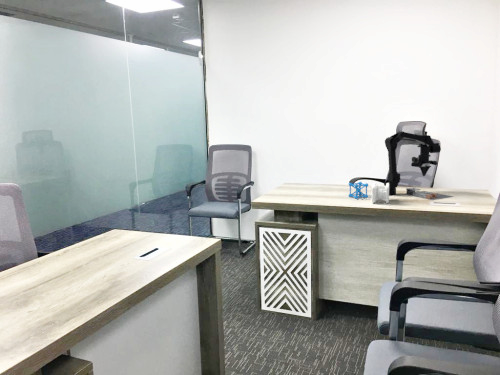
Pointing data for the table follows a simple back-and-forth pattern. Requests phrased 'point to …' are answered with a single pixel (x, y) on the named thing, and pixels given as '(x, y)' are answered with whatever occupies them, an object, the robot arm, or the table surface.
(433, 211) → the table surface
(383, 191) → the cable organizer
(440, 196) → the desk mat
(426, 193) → the tong arm
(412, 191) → the tong base
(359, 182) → the molecular structure
